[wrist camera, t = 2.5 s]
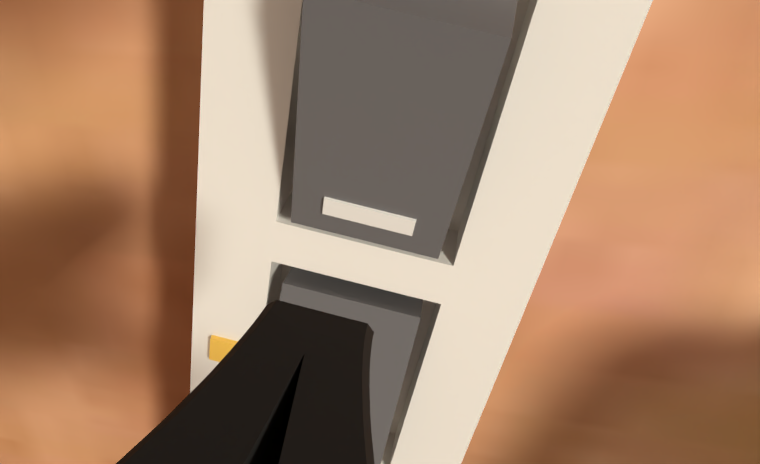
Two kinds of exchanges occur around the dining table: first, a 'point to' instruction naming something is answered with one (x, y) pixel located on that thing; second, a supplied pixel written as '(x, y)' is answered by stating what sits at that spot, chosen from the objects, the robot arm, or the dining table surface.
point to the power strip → (386, 264)
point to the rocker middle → (390, 340)
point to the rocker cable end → (392, 113)
